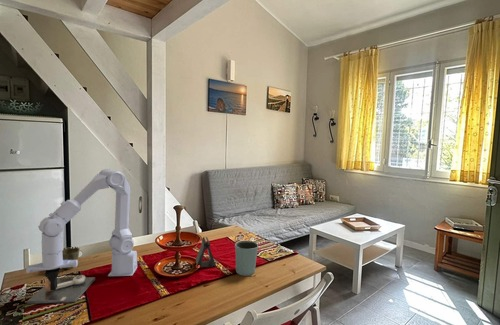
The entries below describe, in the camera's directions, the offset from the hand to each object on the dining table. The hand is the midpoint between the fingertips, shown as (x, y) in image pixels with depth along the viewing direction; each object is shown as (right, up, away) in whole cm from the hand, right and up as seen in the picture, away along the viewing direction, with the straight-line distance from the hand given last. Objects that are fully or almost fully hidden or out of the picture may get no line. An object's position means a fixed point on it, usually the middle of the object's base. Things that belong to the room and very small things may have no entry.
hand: (53, 288), depth 93 cm
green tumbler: (+68, -4, +24) cm, 72 cm away
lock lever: (+1, -1, +4) cm, 5 cm away
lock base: (+1, -2, +3) cm, 4 cm away
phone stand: (+49, -3, +29) cm, 57 cm away
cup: (-9, -1, +21) cm, 22 cm away
